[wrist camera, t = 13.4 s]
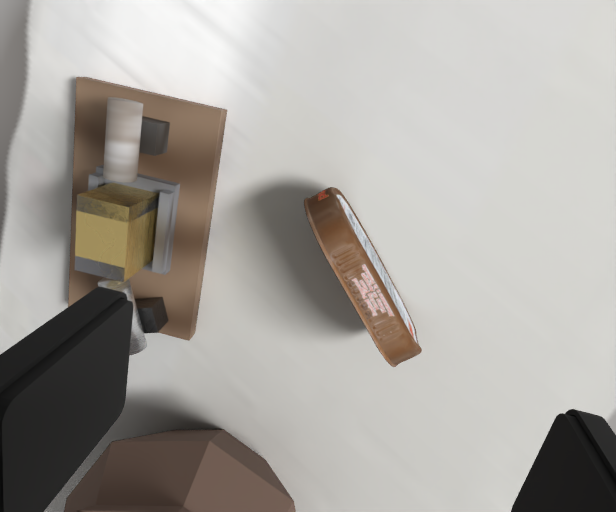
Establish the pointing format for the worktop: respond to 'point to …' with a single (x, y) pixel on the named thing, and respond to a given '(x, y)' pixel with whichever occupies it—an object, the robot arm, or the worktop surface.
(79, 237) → the coupler
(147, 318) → the shaft
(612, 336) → the worktop surface
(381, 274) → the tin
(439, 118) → the worktop surface
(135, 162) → the rig
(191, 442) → the brown cooking pot
